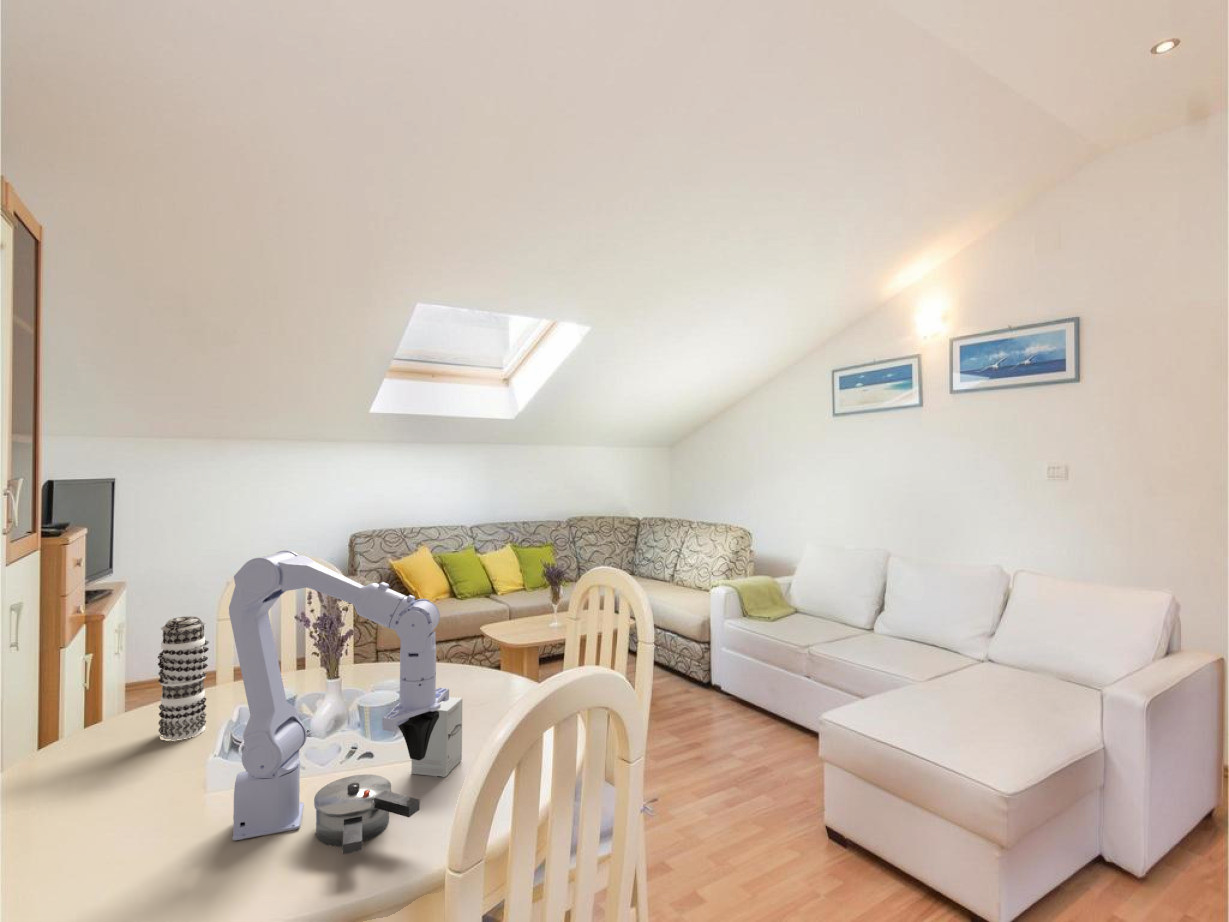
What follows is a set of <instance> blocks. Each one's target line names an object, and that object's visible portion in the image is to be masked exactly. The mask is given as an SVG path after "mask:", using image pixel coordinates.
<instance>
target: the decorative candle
mask: <svg viewBox="0 0 1229 922" xmlns="http://www.w3.org/2000/svg"><path fill="white" fill-rule="evenodd" d="M205 625H206V622H204V621H202V620H201V619H200V618H199V617H197V616H191V615H190V616H189V615H188V616H180V617H173V618H171V619H169V620H168V621H166V623H165V625H164V626H162V627H160V630H161V631H162V641H161V646H160V647H161V650H162V651H161V652H159V654H158V656H157V659H158V660H159V661H158V663H157V666H158V667H159V668H160V670H159V672H158V673H157V674H158V676H159V677H160V678H158V682H159V685H160V686H162V688H161V693H162V694H161V696H160V705H158V708H159V710H160V712H159V713H158V716H159V717H160V720H158V725H159V728H158V732H159V736H161V735H163V736H161V737H163V738H164V739H171V740H177V739H184V738H189V737H192V736H195V735H197V734H200V733H201V732H203V731H204V730H205V731H206V729H205V728H206V723H207V720H206V717H207V713H206V708H207V705H206V704H205V703H206V701H207V697H205V688H204V687H205V686H204V685H205V684H204V683H205V682H204V681H205V680H204V679H206V677H207V673H206V672H204V670H205V669H206V668H207V667H208V663H206V661H207V660H208V658H209V657H208V656H205V655H204V654H205V653H206V652H208V651H209V649H210V648H209V647H207V645H208V644H209V643H210V641H209V640H206V637H205ZM205 731H204V732H205ZM204 732H203V733H204ZM160 734H161V735H160ZM200 735H201V734H200ZM195 737H196V736H195Z"/></svg>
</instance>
